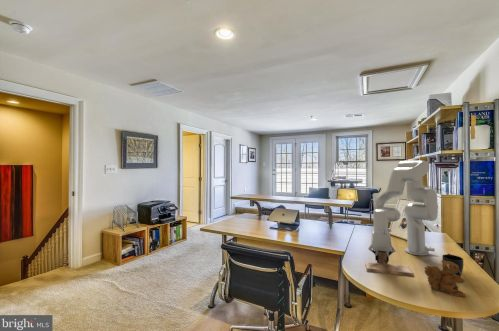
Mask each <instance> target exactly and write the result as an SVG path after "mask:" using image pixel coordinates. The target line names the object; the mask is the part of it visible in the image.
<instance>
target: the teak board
mask: <svg viewBox="0 0 499 331" xmlns="http://www.w3.org/2000/svg"><path fill="white" fill-rule="evenodd" d="M364 263H365V264H364V265H365V266H364V267H365V269H366V272H372V273H380V272H384V273H383V274H390V273H392V274H391V275H399V276H409V277H414V276H415V273H414V271H413V270H412V268H411V267H410V265H401V264H400V265H399V264H390V263H388V264H386V266H385V265H383V264H382V263H377V262H371V261H369V262H368V261H365V262H364Z"/></svg>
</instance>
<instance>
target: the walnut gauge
mask: <svg viewBox="0 0 499 331" xmlns="http://www.w3.org/2000/svg"><path fill="white" fill-rule="evenodd" d="M378 257H379V262H378V263H382V264H383V265H385V266H386V264H387V256H386V251H378Z"/></svg>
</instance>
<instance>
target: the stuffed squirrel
mask: <svg viewBox="0 0 499 331" xmlns="http://www.w3.org/2000/svg"><path fill="white" fill-rule="evenodd" d="M441 263H442V264H441V266H442V270H441V269H440V268H439V267H438V266H435V265H426V267H424V269H425V270H424V274H425V275H426V276H427V282H428V285H429V286H430V287H431V288H432V289H434V290H435V291H442V292H444V293H447V294H449V295H452V296H455V297H462V298H465V297H466V293H465V292H463V291H462V290H459V286H458V284H462V283H464V282H465V278H464V277H462V276H461V277H460V276H458V275H455V274H454V273H457V272H458V271H459V272H460V270H459V266H458V265H456V264H455V263H453V262H451V261H445V260H443V259H441ZM460 274H461V272H460ZM461 275H462V274H461Z"/></svg>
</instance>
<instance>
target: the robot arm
mask: <svg viewBox="0 0 499 331" xmlns="http://www.w3.org/2000/svg"><path fill="white" fill-rule="evenodd" d="M429 170H430V164H429V163H428V161H426V160H404V161H403V160H402V161H399V162H398V163H397V167H395V168H393V169H392V171H391V173H390V178H389V179H388V180H389V181H388V185H387V187H386V190H385V191H384V192H383V193H381V194H380V195H379V197H377V199H376V201H375V203H374V207H373V212H372V215H373V218H372V219H373V231H372V233H371V244H370V245H369V247H368V250H369V251H370V252H372V253H373V255H374V258H375V261H376V263H378V262H379V257H378V251H386V256H387V264H389V261H390V259H389V258H390V256H391V255H392V254H394V253H395V252H396V250H395V248H394V247H393V246H392V245H393V244H392V238H391V234H390V233H391V232H392V229H391V228H389V222H398V221H400V219H401V216H402V215H401V212H400V211H399V209H396V208H394V207H393V208H392V207H385V205H386V203H387V202H388V201H390V200H392V199H393V198H397V197H400V196H402V195H403V193H404V190H405V186H406V197H407V200H409V201H410V202H412V203H407V204H405V206H404V214H405V218H406V220H405V221H406V236H407V237H406V240H407V242H406V243H407V244H406V245H407V247H405V248H404V251H405V252H406V253H408V254H410V255H414V256H428V255H429V254H430V253H429V252H436V250H435V247H433V248H432V247H431V246H430V247H429V246H426V232H425V231H426V230H425V229H426V228H425V223H424V221H426V222H427V221H428V222H434V221H436V220H437V219H438V215H439V213H438V212H439V210H438V209H439V208H438V205H439V204H438V193H437V192H436V190H435V189H434V188H431V187H424V186H423V179H422V178H423V177H424V176H425V175H427V173H429ZM413 202H416V203H413ZM420 203H423V204H420Z"/></svg>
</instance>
